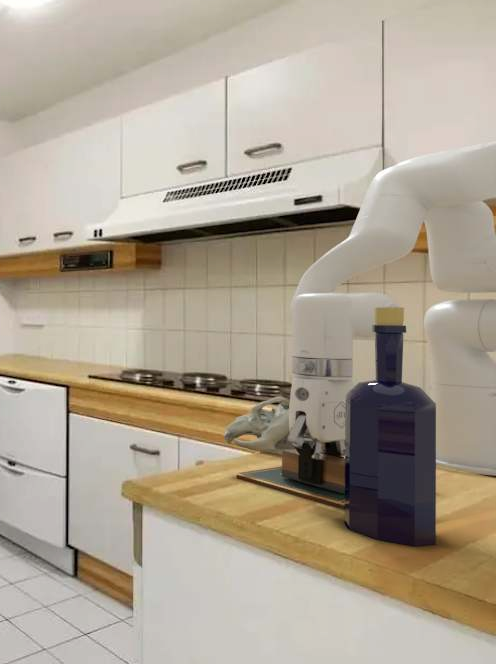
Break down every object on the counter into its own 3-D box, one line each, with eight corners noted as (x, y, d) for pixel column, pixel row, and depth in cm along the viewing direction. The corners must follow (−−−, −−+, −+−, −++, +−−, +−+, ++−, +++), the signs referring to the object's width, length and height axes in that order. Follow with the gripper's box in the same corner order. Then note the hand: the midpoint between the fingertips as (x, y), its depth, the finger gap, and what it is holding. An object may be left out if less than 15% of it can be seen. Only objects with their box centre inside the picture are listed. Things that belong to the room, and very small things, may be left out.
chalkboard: (317, 466, 104) (317, 460, 104) (429, 493, 89) (429, 486, 89) (236, 478, 96) (236, 472, 96) (344, 510, 81) (344, 502, 81)
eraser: (298, 474, 94) (299, 448, 94) (361, 491, 86) (363, 462, 86) (281, 476, 93) (282, 450, 93) (343, 494, 84) (344, 465, 84)
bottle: (459, 549, 68) (461, 307, 67) (372, 543, 69) (373, 307, 69) (401, 521, 77) (402, 307, 76) (325, 516, 78) (327, 307, 78)
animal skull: (224, 472, 116) (202, 415, 116) (241, 447, 124) (221, 394, 124) (330, 473, 102) (306, 408, 102) (342, 444, 110) (320, 385, 110)
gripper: (313, 373, 83) (312, 493, 83) (381, 369, 88) (381, 481, 89) (262, 368, 90) (261, 479, 90) (328, 364, 96) (327, 469, 96)
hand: (320, 479), depth 89 cm, fingers closed on eraser, 4 cm apart
